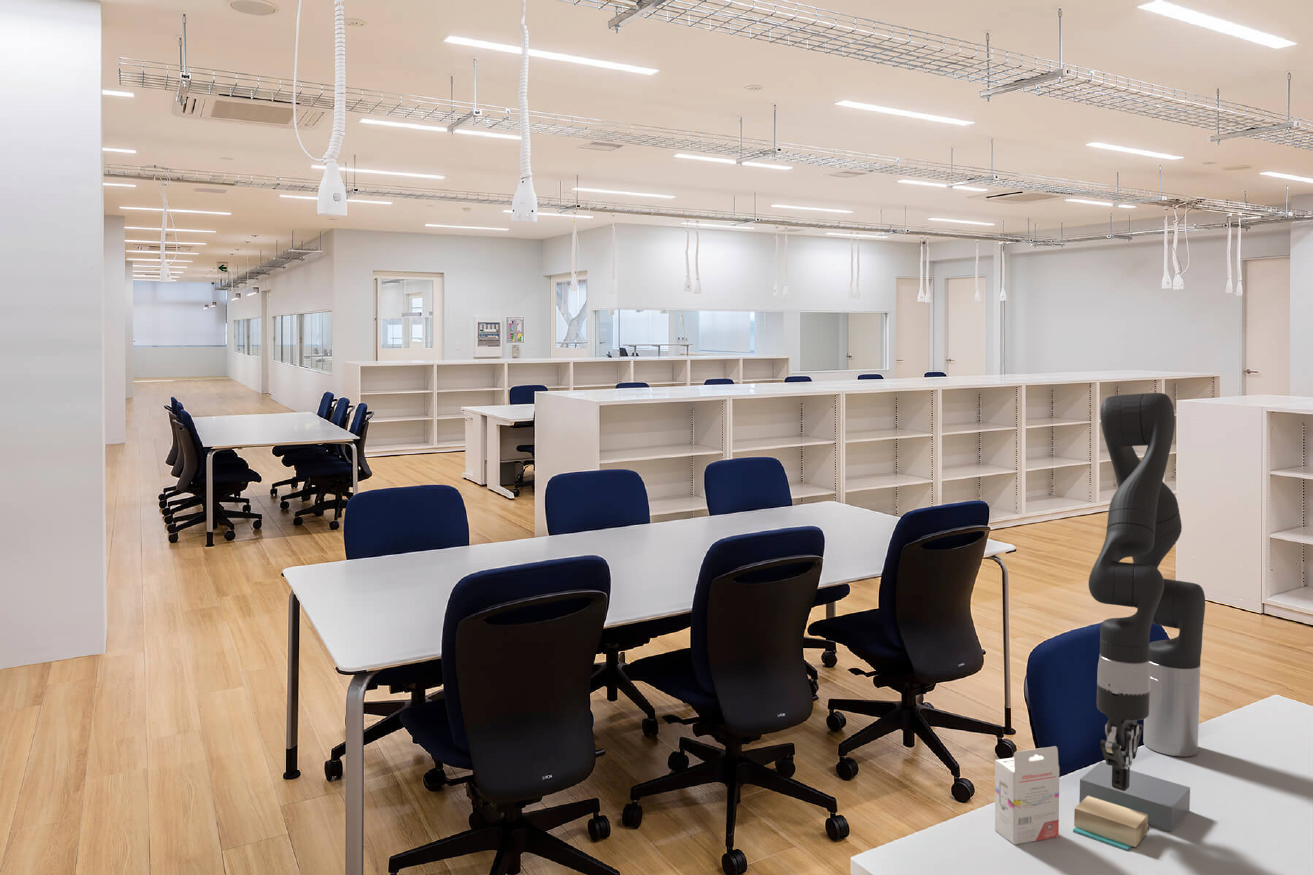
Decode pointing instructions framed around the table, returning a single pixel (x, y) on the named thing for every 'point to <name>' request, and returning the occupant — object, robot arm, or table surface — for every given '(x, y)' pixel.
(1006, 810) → the ink cartridge box
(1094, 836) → the teal rubber mat
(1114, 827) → the maple tile
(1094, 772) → the grey rectangular block
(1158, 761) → the table surface
